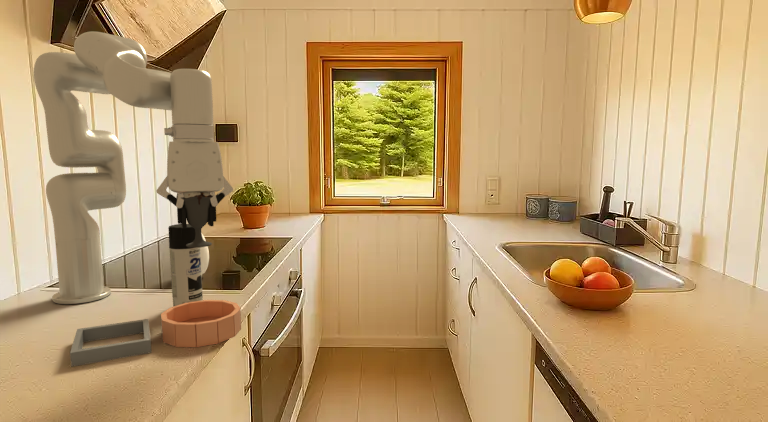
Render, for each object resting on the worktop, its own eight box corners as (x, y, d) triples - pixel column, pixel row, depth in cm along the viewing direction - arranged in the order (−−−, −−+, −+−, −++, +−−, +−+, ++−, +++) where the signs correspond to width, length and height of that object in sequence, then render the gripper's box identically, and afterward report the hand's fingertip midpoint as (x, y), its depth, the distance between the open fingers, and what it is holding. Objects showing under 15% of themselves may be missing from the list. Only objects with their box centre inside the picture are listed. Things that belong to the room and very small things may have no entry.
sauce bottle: (184, 274, 143) (181, 216, 140) (211, 273, 144) (209, 215, 142) (179, 281, 135) (176, 219, 133) (208, 280, 137) (205, 219, 135)
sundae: (183, 250, 91) (178, 172, 89) (180, 243, 97) (175, 170, 95) (218, 246, 94) (214, 171, 92) (213, 240, 100) (209, 170, 98)
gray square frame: (78, 341, 93) (77, 329, 92) (148, 330, 99) (148, 318, 98) (71, 366, 82) (70, 352, 81) (151, 352, 88) (150, 339, 87)
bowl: (160, 326, 101) (159, 306, 100) (232, 315, 108) (232, 296, 107) (165, 352, 88) (163, 329, 87) (246, 338, 95) (246, 316, 94)
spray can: (192, 313, 109) (188, 228, 106) (166, 311, 110) (161, 226, 108) (208, 304, 115) (205, 223, 113) (183, 302, 117) (179, 222, 114)
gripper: (146, 133, 85) (151, 232, 88) (241, 135, 93) (244, 226, 96) (145, 134, 92) (150, 226, 94) (234, 136, 100) (236, 221, 102)
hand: (197, 225), depth 95 cm, fingers closed on sundae, 4 cm apart
